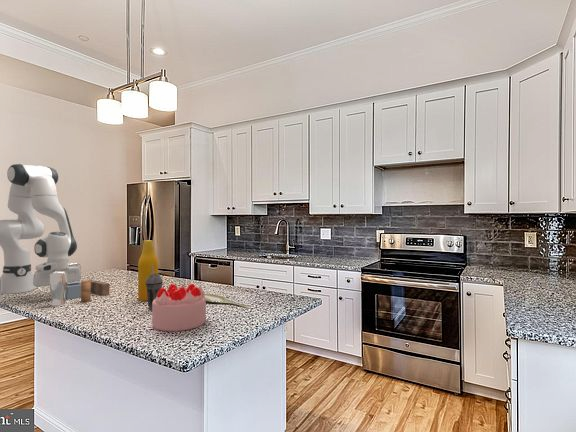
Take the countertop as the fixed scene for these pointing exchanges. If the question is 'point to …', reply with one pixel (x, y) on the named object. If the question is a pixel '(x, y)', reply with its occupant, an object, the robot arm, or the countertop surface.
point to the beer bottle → (146, 268)
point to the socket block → (73, 290)
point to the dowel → (86, 291)
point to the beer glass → (58, 287)
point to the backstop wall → (99, 288)
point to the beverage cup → (153, 287)
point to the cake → (179, 308)
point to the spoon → (222, 300)
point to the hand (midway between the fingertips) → (58, 292)
